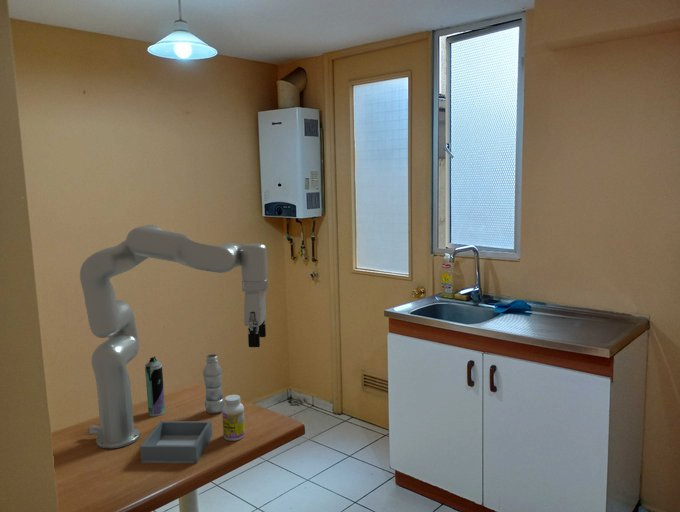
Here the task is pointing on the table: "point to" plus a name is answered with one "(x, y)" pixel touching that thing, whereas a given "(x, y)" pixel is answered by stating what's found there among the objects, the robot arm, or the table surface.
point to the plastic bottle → (213, 385)
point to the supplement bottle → (233, 418)
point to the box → (176, 442)
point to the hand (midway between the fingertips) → (257, 341)
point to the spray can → (155, 387)
